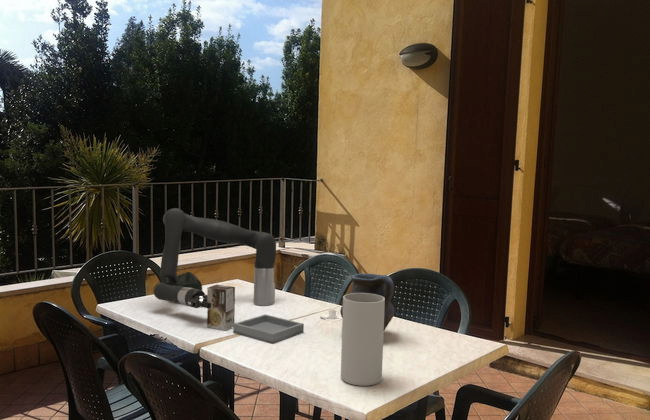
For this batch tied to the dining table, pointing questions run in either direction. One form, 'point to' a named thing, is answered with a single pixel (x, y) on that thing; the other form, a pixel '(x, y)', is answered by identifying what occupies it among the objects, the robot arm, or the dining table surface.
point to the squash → (189, 281)
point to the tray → (268, 328)
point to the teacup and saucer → (331, 315)
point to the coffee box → (221, 307)
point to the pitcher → (375, 291)
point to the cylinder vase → (362, 338)
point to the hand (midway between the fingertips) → (218, 303)
